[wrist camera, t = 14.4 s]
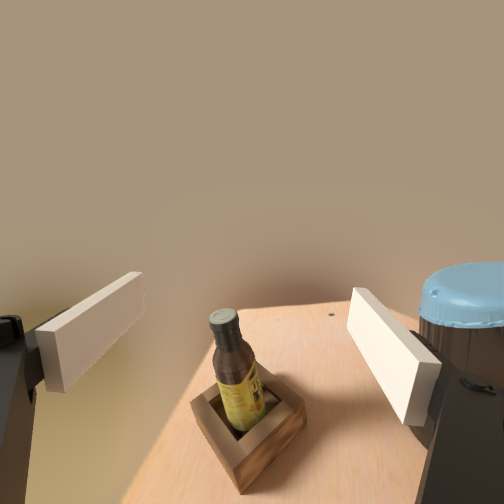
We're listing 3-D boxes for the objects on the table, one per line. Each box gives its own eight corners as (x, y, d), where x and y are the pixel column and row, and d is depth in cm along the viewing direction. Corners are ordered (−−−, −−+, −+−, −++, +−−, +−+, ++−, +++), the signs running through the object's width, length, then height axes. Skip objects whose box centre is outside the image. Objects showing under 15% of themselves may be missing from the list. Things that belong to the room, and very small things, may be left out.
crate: (256, 377, 49) (251, 357, 47) (307, 423, 38) (303, 399, 37) (197, 423, 42) (189, 402, 40) (240, 494, 31) (232, 469, 30)
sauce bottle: (271, 435, 37) (246, 325, 30) (230, 445, 37) (197, 336, 30) (265, 398, 43) (243, 300, 36) (230, 406, 43) (202, 308, 36)
